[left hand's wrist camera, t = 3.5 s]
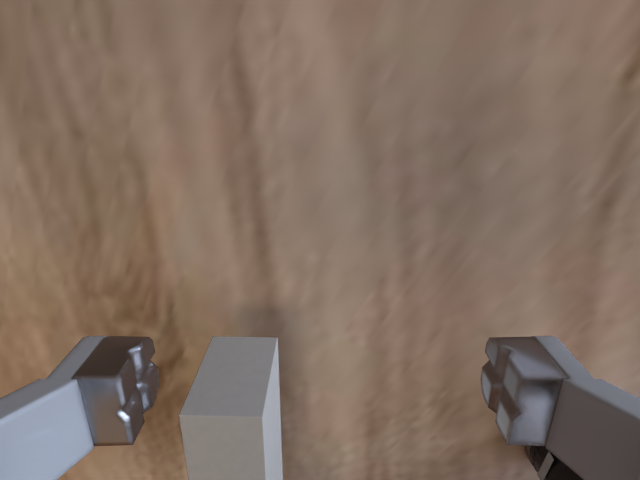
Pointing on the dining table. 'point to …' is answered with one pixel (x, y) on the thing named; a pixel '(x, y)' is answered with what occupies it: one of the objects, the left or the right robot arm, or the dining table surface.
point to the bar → (234, 412)
